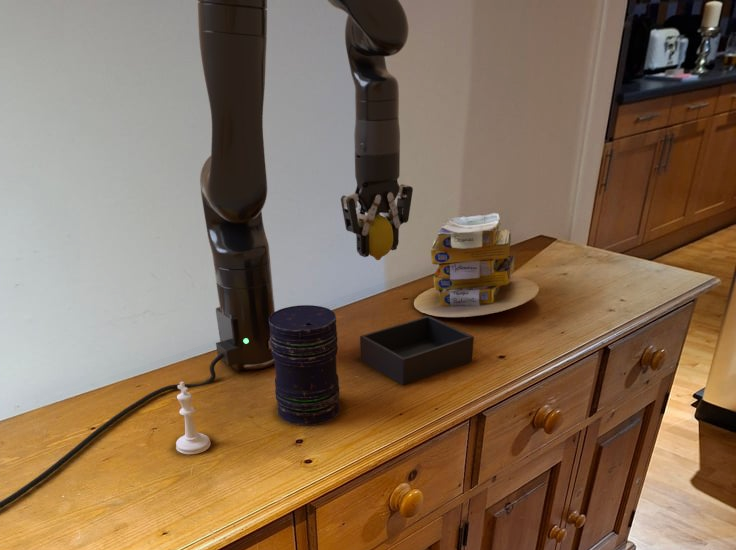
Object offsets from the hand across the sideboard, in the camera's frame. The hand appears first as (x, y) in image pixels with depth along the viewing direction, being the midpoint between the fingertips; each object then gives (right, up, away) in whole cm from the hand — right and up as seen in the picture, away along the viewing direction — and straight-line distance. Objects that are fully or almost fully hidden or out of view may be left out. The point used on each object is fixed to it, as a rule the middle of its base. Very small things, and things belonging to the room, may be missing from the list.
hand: (377, 252), depth 127 cm
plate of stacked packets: (+20, -4, +18) cm, 27 cm away
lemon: (0, -1, +1) cm, 2 cm away
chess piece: (-28, -37, -25) cm, 53 cm away
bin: (+7, -20, -4) cm, 22 cm away
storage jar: (-11, -31, -17) cm, 37 cm away
